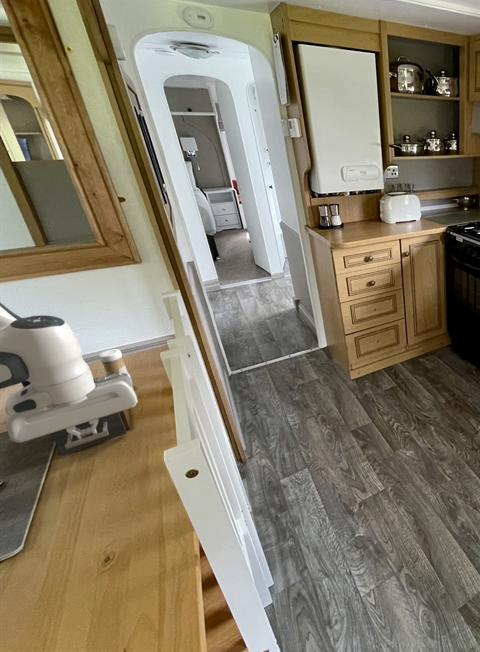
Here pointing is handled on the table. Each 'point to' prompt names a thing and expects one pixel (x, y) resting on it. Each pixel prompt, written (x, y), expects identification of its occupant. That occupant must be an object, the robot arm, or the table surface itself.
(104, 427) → the drawer
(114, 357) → the sprinkles bottle
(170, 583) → the table surface
